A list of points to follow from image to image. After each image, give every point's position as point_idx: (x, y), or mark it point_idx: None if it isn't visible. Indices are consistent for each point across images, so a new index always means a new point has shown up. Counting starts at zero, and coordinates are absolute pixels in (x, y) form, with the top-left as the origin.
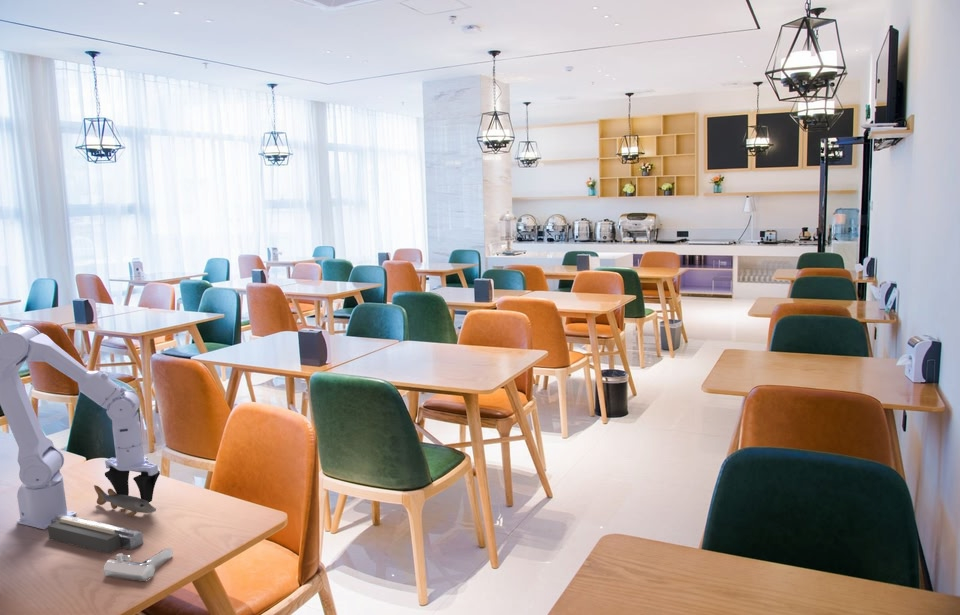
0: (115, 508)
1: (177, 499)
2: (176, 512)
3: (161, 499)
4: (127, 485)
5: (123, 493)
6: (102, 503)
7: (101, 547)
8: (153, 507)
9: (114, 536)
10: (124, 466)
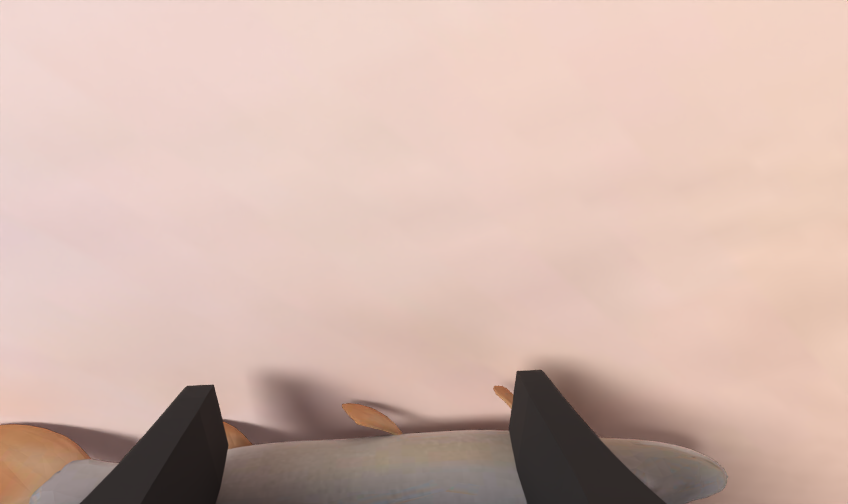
0: (227, 426)
1: (603, 87)
2: (757, 287)
3: (431, 148)
4: (164, 474)
5: (207, 461)
6: (54, 445)
7: None
8: (705, 485)
9: None
10: None
